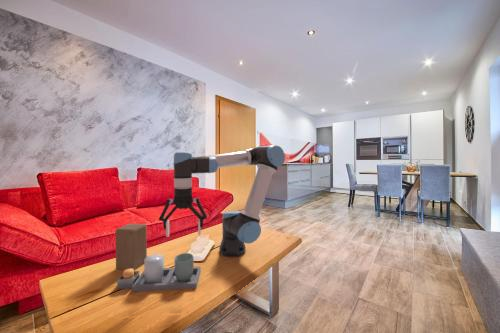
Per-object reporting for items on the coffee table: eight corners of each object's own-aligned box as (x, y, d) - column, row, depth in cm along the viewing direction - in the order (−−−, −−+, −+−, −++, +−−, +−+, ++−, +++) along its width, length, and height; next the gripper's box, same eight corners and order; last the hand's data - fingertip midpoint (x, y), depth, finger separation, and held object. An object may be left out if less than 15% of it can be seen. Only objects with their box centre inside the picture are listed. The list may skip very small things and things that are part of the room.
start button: (135, 277, 90) (135, 268, 90) (131, 282, 86) (131, 273, 86) (125, 277, 90) (125, 268, 90) (121, 283, 86) (121, 273, 86)
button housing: (139, 281, 92) (139, 271, 91) (133, 289, 86) (133, 278, 85) (124, 282, 91) (124, 271, 91) (117, 290, 85) (117, 279, 85)
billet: (165, 275, 95) (165, 253, 95) (160, 285, 87) (160, 262, 87) (148, 276, 94) (148, 254, 94) (141, 286, 87) (141, 262, 86)
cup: (171, 279, 92) (171, 257, 92) (187, 272, 98) (187, 251, 97) (180, 287, 87) (180, 263, 86) (196, 279, 92) (196, 256, 92)
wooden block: (133, 272, 99) (132, 230, 98) (114, 270, 101) (114, 228, 100) (147, 262, 108) (147, 223, 108) (130, 260, 110) (130, 222, 110)
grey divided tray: (200, 272, 99) (200, 266, 99) (196, 289, 86) (196, 283, 86) (145, 274, 97) (145, 269, 97) (131, 293, 83) (131, 286, 83)
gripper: (212, 185, 98) (212, 230, 99) (155, 186, 95) (156, 233, 96) (211, 188, 91) (212, 236, 92) (150, 189, 87) (151, 239, 88)
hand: (183, 235), depth 94 cm, fingers open, 13 cm apart
